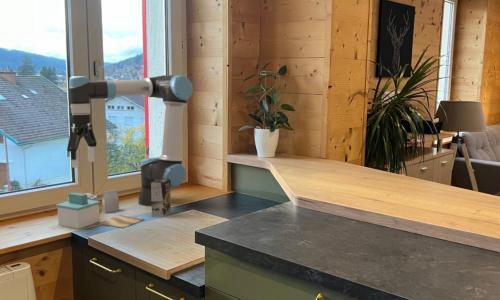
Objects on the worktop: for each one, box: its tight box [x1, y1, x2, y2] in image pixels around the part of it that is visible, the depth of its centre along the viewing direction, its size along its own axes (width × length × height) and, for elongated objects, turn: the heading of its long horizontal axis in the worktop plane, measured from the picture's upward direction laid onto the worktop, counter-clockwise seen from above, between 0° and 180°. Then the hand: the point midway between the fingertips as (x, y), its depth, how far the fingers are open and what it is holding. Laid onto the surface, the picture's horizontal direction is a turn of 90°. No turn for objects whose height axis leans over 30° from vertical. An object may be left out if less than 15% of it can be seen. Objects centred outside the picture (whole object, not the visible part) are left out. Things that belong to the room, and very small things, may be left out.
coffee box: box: [151, 179, 172, 218], centre depth 220 cm, size 9×6×16 cm
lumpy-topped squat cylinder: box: [67, 192, 98, 201], centre depth 224 cm, size 10×13×9 cm
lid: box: [55, 192, 102, 211], centre depth 206 cm, size 13×13×6 cm
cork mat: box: [97, 214, 145, 229], centre depth 209 cm, size 14×14×1 cm
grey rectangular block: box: [101, 189, 120, 214], centre depth 226 cm, size 4×7×10 cm, turn 129°
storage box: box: [57, 204, 101, 230], centre depth 206 cm, size 12×12×8 cm
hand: (83, 164), depth 199 cm, fingers open, 13 cm apart
